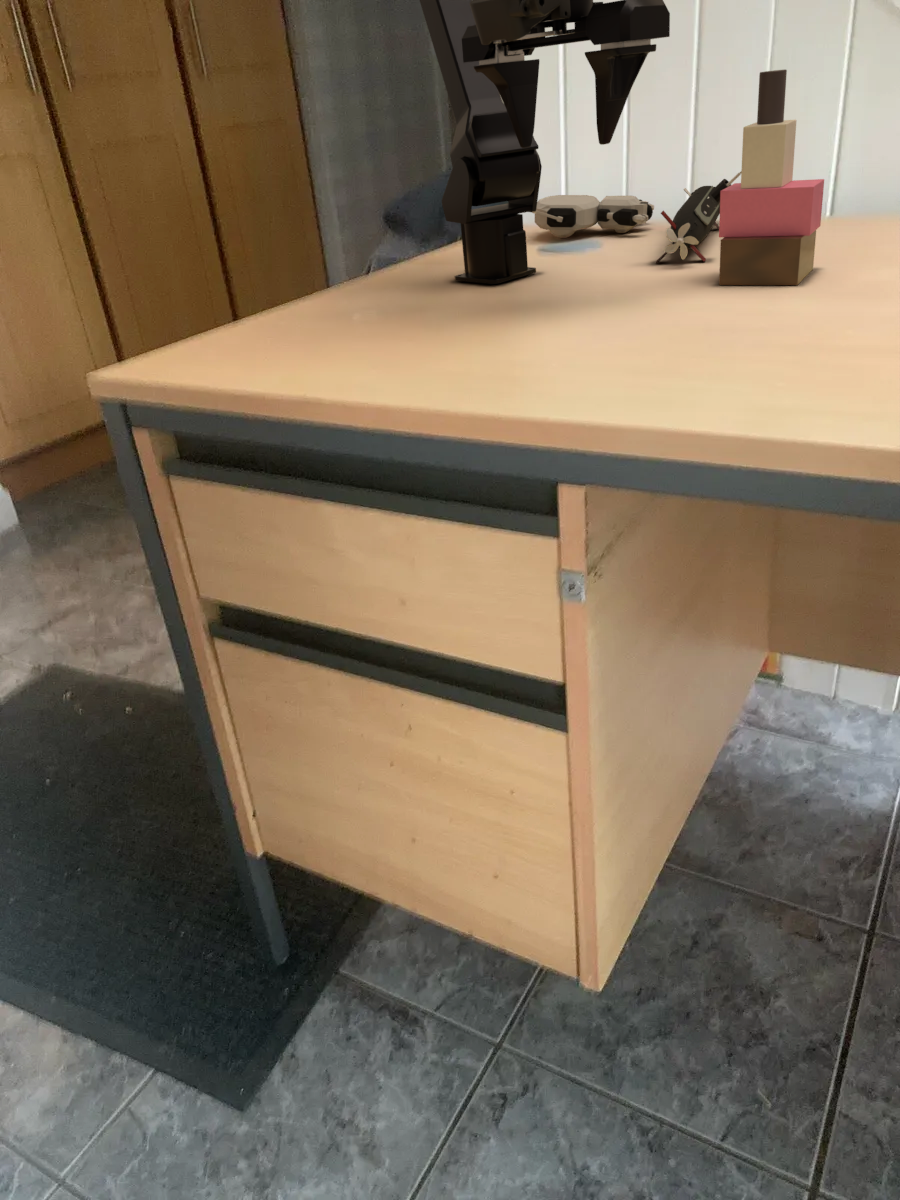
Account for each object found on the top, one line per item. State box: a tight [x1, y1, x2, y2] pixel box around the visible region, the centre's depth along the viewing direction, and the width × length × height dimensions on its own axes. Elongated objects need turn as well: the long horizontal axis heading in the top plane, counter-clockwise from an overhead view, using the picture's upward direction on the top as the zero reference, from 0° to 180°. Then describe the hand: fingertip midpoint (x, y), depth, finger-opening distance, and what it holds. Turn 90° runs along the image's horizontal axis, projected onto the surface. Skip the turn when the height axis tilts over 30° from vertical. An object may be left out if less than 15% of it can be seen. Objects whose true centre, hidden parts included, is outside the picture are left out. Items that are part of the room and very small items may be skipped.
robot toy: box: [531, 194, 655, 239], centre depth 120 cm, size 12×4×15 cm
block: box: [718, 229, 817, 286], centre depth 87 cm, size 7×7×4 cm
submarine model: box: [655, 171, 741, 264], centre depth 106 cm, size 31×7×10 cm
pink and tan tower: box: [718, 69, 825, 238], centre depth 83 cm, size 8×5×13 cm, turn 61°
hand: (563, 145), depth 83 cm, fingers open, 9 cm apart
